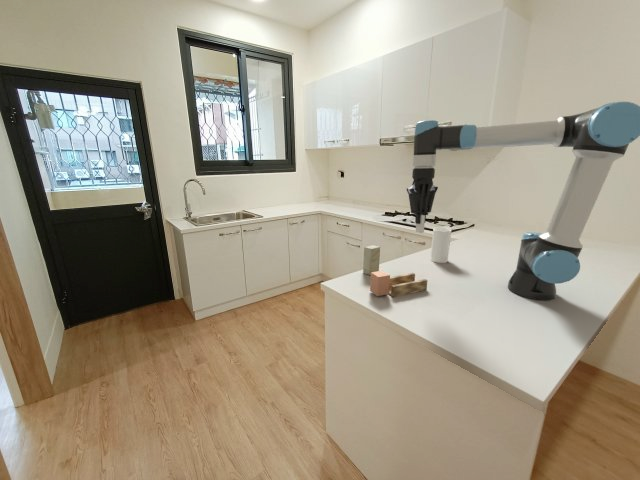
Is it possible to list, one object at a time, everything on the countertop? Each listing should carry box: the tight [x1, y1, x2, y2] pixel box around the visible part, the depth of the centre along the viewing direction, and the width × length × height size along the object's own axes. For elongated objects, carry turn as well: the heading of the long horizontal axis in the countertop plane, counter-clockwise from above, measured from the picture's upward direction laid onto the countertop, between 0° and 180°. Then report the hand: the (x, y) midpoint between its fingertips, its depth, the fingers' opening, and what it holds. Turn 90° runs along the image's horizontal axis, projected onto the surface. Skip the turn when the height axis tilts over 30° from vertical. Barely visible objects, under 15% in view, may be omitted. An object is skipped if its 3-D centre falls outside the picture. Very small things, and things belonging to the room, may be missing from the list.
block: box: [369, 270, 391, 297], centre depth 110 cm, size 5×5×8 cm
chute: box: [388, 272, 428, 298], centre depth 115 cm, size 16×8×4 cm, turn 113°
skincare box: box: [362, 244, 381, 276], centre depth 131 cm, size 6×4×12 cm
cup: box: [430, 227, 452, 264], centre depth 147 cm, size 8×8×16 cm
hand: (419, 231), depth 111 cm, fingers closed
